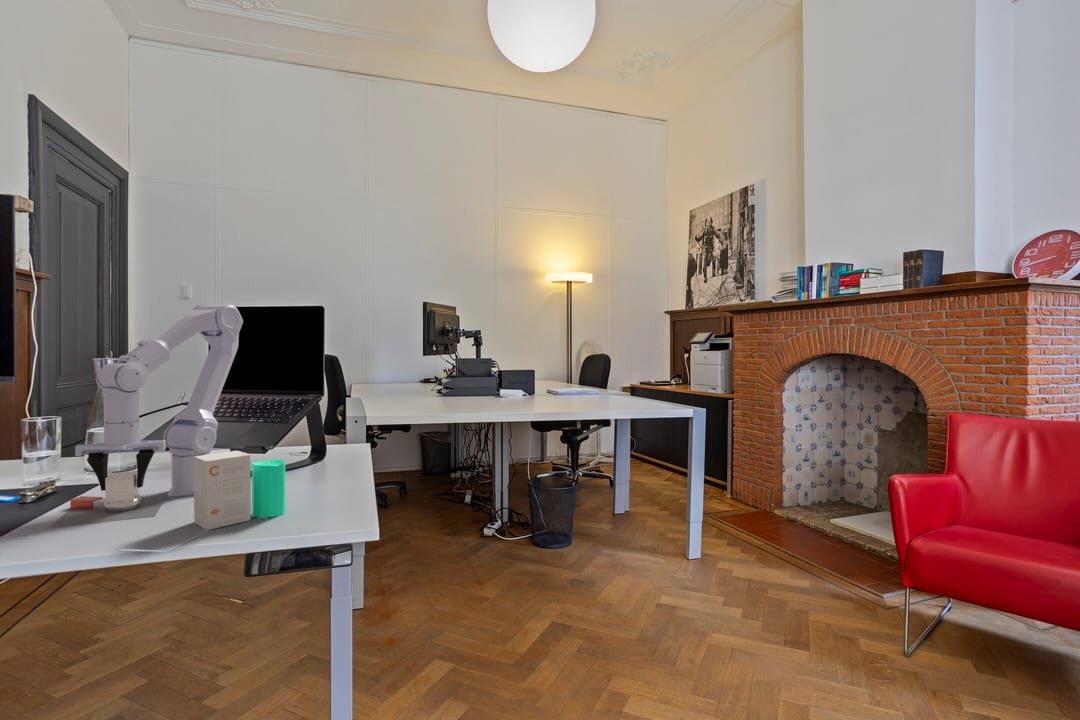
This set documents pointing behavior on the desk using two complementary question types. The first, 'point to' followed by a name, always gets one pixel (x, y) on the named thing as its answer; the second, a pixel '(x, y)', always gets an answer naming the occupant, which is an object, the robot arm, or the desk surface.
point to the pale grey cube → (121, 487)
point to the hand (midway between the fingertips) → (122, 487)
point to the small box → (222, 489)
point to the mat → (98, 515)
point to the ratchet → (105, 504)
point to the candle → (268, 488)
